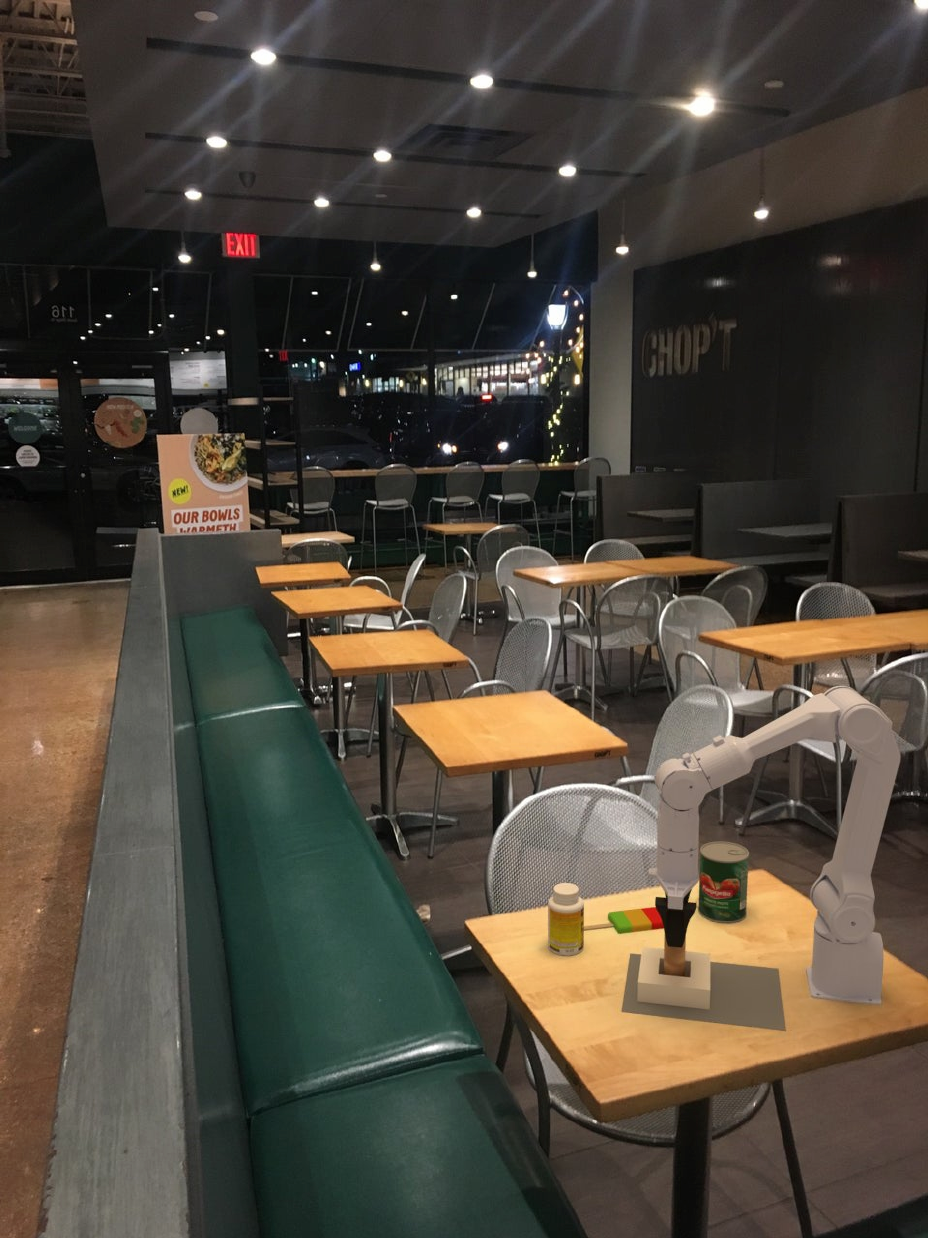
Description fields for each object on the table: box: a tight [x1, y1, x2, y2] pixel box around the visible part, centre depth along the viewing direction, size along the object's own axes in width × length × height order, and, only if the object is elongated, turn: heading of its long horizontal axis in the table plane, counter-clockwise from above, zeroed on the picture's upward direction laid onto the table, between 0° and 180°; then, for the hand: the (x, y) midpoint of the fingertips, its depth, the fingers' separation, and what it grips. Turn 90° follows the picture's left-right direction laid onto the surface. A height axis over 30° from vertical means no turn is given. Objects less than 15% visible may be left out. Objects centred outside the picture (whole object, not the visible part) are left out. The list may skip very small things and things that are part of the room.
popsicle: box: [584, 906, 664, 935], centre depth 165 cm, size 6×15×2 cm, turn 101°
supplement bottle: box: [547, 882, 585, 957], centre depth 158 cm, size 6×6×10 cm
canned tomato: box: [697, 841, 750, 924], centre depth 168 cm, size 8×8×11 cm
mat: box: [621, 953, 787, 1032], centre depth 146 cm, size 22×16×1 cm
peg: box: [663, 936, 687, 977], centre depth 146 cm, size 3×3×9 cm
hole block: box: [637, 946, 711, 1010], centre depth 147 cm, size 10×10×3 cm
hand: (676, 932), depth 146 cm, fingers open, 7 cm apart
